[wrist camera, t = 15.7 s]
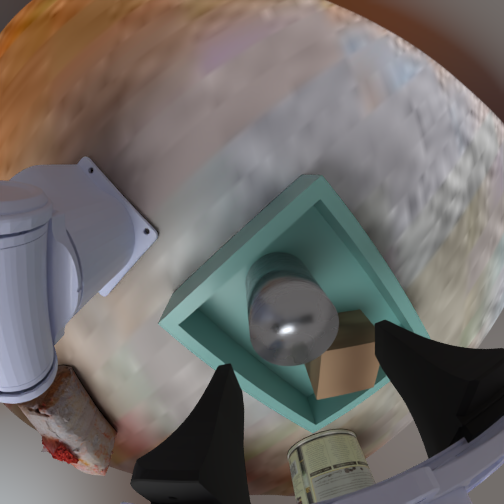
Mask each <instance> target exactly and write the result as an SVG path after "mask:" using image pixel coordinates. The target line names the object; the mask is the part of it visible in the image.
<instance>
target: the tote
mask: <svg viewBox="0 0 504 504" xmlns="http://www.w3.org/2000/svg"><path fill="white" fill-rule="evenodd" d="M273 252H285V253H289V254H292V255H294V256H296V257H297V258H299V259H300V260H301V261H302V262H303V263H304V265H305V266H306V267H307V269H308V270H309V271H310V273H311V274H312V276H313V277H314V278H315V280H316V281H317V282H318V284H319V285H320V287H321V288H322V289H323V291H324V292H325V294H326V295H327V296H328V298H329V299H330V301H331V302H332V303H333V305H334V306H335V308H336V310H337V313H339V312H346V311H353V310H359V309H360V310H361V311H362V312H363V313H364V314H365V316H366V317H367V318H368V319H369V320H370V322H371V323H372V324H373V325H374V326H375V323H377V322H380V321H382V320H388V321H390V322H392V323H394V324H396V325H398V326H400V327H403V328H405V329H407V330H409V331H411V332H413V333H416V334H418V335H421V336H423V337H426V338H428V339H430V337H429V335H428V333H427V331H426V329H425V327H424V326H423V324H422V322H421V320H420V318H419V316H418V315H417V313H416V311H415V309H414V308H413V306H412V304H411V302H410V301H409V299H408V297H407V296H406V294H405V292H404V290H403V289H402V287H401V286H400V284H399V282H398V281H397V279H396V277H395V276H394V274H393V273H392V271H391V269H390V268H389V266H388V265H387V263H386V262H385V260H384V259H383V257H382V256H381V254H380V253H379V251H378V250H377V248H376V247H375V245H374V244H373V242H372V241H371V239H370V238H369V237H368V235H367V234H366V232H365V231H364V229H363V228H362V227H361V225H360V224H359V222H358V221H357V220H356V218H355V217H354V216H353V214H352V213H351V212H350V210H349V209H348V208H347V206H346V205H345V204H344V202H343V201H342V200H341V198H340V197H339V196H338V195H337V193H336V192H335V191H334V189H333V188H332V187H331V186H330V184H329V183H328V182H327V181H326V179H325V178H324V177H323V176H322V175H301V176H300V177H299V178H298V179H297V180H295V181H294V182H293V183H292V184H291V185H290V186H289V187H288V188H286V189H285V190H284V191H283V192H282V193H281V194H280V195H279V196H277V197H276V198H275V199H274V200H273V201H272V202H271V203H270V204H269V205H267V206H266V207H265V208H264V209H263V210H262V211H261V212H260V213H259V214H257V215H256V216H255V217H254V218H253V219H252V220H251V221H250V222H249V223H248V224H246V225H245V226H244V227H243V228H242V229H241V230H240V231H239V232H238V233H237V234H236V235H234V236H233V237H232V238H231V239H230V240H229V241H228V242H227V243H226V244H225V245H224V246H223V247H221V248H220V249H219V250H218V251H217V252H216V253H215V254H214V255H213V256H212V257H211V258H210V259H209V260H208V261H206V262H205V263H204V264H203V265H202V266H201V267H200V268H199V269H198V270H197V271H196V272H195V273H194V274H193V275H192V276H191V277H189V278H188V279H187V280H186V281H185V282H184V283H183V284H182V285H181V286H180V287H179V288H178V289H177V290H176V291H175V292H174V293H173V294H172V296H171V298H170V300H169V302H168V304H167V306H166V308H165V310H164V312H163V314H162V316H161V318H160V320H159V323H158V324H159V325H160V326H161V327H162V328H163V329H165V330H166V331H167V332H168V333H169V334H170V335H172V336H173V337H174V338H175V339H176V340H178V341H179V342H180V343H181V344H182V345H184V346H185V347H186V348H187V349H188V350H190V351H191V352H192V353H193V354H195V355H196V356H197V357H199V358H200V359H201V360H202V361H204V362H205V363H206V364H208V365H209V366H210V367H212V368H213V369H214V370H216V369H217V367H218V366H219V365H224V364H229V363H231V365H232V367H233V370H234V373H235V375H236V378H237V380H238V382H239V385H240V387H241V389H242V390H244V391H245V392H246V393H248V394H249V395H251V396H252V397H254V398H255V399H257V400H258V401H260V402H262V403H263V404H265V405H266V406H268V407H269V408H271V409H273V410H274V411H276V412H277V413H279V414H281V415H282V416H284V417H286V418H287V419H289V420H291V421H292V422H294V423H296V424H297V425H299V426H301V427H303V428H304V429H306V430H308V431H310V432H312V433H314V432H316V431H318V430H319V429H321V428H323V427H324V426H326V425H328V424H329V423H331V422H333V421H334V420H336V419H337V418H339V417H340V416H342V415H344V414H345V413H347V412H348V411H350V410H351V409H353V408H354V407H356V406H357V405H358V404H360V403H361V402H363V401H364V400H365V399H367V398H368V397H370V396H371V395H372V394H374V393H375V392H376V391H378V390H379V389H380V388H382V387H383V386H384V385H385V384H387V383H388V382H389V381H390V380H389V378H388V377H387V375H386V374H385V372H384V371H383V370H382V368H381V366H380V365H379V369H378V373H377V377H376V381H375V384H374V387H373V388H369V389H365V390H361V391H357V392H353V393H349V394H344V395H339V396H335V397H330V398H324V399H319V400H317V399H316V397H315V394H314V391H313V388H312V385H311V382H310V379H309V376H308V373H307V370H306V367H305V364H302V365H297V366H280V365H275V364H272V363H270V362H268V361H266V360H264V359H263V358H262V357H260V356H259V355H258V354H257V353H256V351H255V350H254V348H253V346H252V344H251V340H250V333H249V321H248V310H247V298H246V286H245V282H246V276H247V273H248V271H249V269H250V267H251V266H252V265H253V263H254V262H255V261H257V260H258V259H259V258H261V257H262V256H264V255H266V254H269V253H273Z"/></svg>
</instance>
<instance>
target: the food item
mask: <svg viewBox="0 0 504 504" xmlns="http://www.w3.org/2000/svg"><path fill="white" fill-rule="evenodd" d="M17 404H18V406H19V407H20V409H21V410H22V412H23V413H24V414H25V415H26V417H27V418H28V419H29V421H30V422H31V423H32V424H33V425H34V427H35V428H36V429H37V430H38V432H39V433H40V434H41V436H42V444H43V445H44V449H43V450H42V452H46V451H47V452H49V453H51V454H52V457H53V458H55V459H58V460H60V461H63V460H64V461H66V462H67V463H68V464H70V463H71V464H72V465H73V466H74V467H75V468H77V469H79V470H80V471H82V472H84V473H87V474H93V475H103V476H105V473H106V472H107V469H108V467H109V465H108V464H109V462H110V460H111V454H113V451H112V449H113V446H114V441H115V437H116V435H117V432H116V431H115V430H114V429H113V427H112V426H111V425H110V424H109V423H108V422H107V420H106V419H105V418H104V417H103V415H102V413H101V412H100V411H99V410H98V408H97V407H96V405H95V404H94V403H93V401H92V399H91V398H90V396H89V395H88V393H87V392H86V390H85V389H84V387H83V386H82V384H81V383H80V381H79V379H78V378H77V376H76V374H75V372H74V370H73V369H72V367H69V366H65V365H61V366H58V369H57V373H56V377H55V379H54V381H53V383H52V384H51V385H50V387H49V388H48V389H47V390H46V391H45V392H44V393H43V394H41V395H40V396H38V397H36V398H34V399H32V400H30V401H26V402H22V403H17Z"/></svg>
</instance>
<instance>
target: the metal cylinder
mask: <svg viewBox="0 0 504 504" xmlns="http://www.w3.org/2000/svg"><path fill="white" fill-rule="evenodd" d="M245 286H246V298H247V310H248V321H249V333H250V340H251V344H252V346H253V348H254V350H255V351H256V353H257V354H258V355H259V356H260V357H262V358H263V359H264V360H266V361H268V362H270V363H272V364H275V365H280V366H297V365H302V364H305V363H308V362H310V361H312V360H314V359H316V358H318V357H319V356H321V355H322V354H323V353H324V352H325V351H326V350H327V349H328V348H329V347H330V346H331V344H332V343H333V341H334V340H335V338H336V335H337V332H338V328H339V317H338V313H337V310H336V308H335V306H334V305H333V303H332V302H331V301H330V299H329V298H328V296H327V295H326V294H325V292H324V291H323V289H322V288H321V287H320V285H319V284H318V282H317V281H316V280H315V278H314V277H313V276H312V274H311V273H310V271H309V270H308V269H307V267H306V266H305V265H304V263H303V262H302V261H301V260H300V259H299V258H297V257H296V256H294V255H292V254H289V253H285V252H273V253H269V254H266V255H264V256H262V257H261V258H259V259H258V260H257V261H255V262H254V263H253V265H252V266H251V267H250V269H249V271H248V273H247V276H246V282H245Z"/></svg>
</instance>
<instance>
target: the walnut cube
mask: <svg viewBox="0 0 504 504" xmlns="http://www.w3.org/2000/svg"><path fill="white" fill-rule="evenodd" d="M338 317H339V328H338V332H337V335H336V338H335V340H334V341H333V343H332V344H331V346H330V347H329V348H328V349H327V350H326V351H325V352H324V353H323V354H322V355H321V356H319V357H318V358H316V359H314V360H312V361H310V362H308V363H305V367H306V370H307V373H308V376H309V379H310V382H311V385H312V388H313V391H314V394H315V397H316V399H317V400H319V399H324V398H330V397H335V396H339V395H344V394H349V393H353V392H357V391H361V390H365V389H369V388H373V387H374V384H375V381H376V377H377V373H378V369H379V365H380V364H379V362H378V360H377V358H376V356H375V326H374V325H373V324H372V323H371V322H370V320H369V319H368V318H367V317H366V316H365V314H364V313H363V312H362V311H361V310H360V309H359V310H353V311H346V312H339V313H338Z"/></svg>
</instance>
